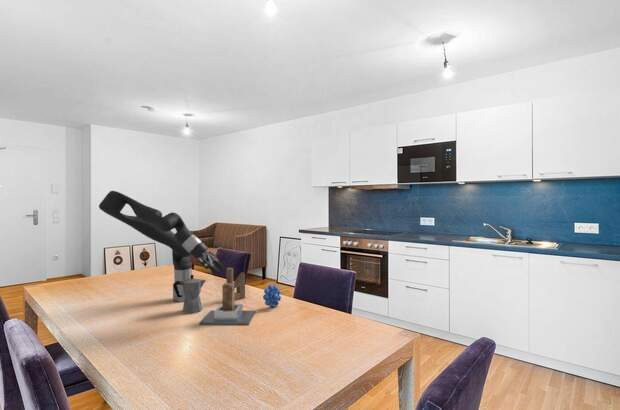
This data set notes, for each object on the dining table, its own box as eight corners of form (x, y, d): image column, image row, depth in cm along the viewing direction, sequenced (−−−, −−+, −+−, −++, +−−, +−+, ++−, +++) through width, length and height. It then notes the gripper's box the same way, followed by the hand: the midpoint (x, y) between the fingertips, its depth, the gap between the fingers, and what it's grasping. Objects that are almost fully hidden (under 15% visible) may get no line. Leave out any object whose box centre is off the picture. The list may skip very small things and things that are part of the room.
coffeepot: (205, 306, 177) (205, 271, 176) (206, 312, 168) (206, 275, 167) (173, 309, 171) (173, 274, 171) (173, 316, 163) (172, 278, 162)
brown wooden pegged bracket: (245, 298, 191) (245, 266, 190) (229, 302, 183) (228, 269, 183) (241, 296, 193) (241, 265, 193) (225, 301, 185) (224, 268, 185)
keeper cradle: (199, 324, 151) (199, 313, 151) (210, 312, 167) (210, 302, 167) (248, 324, 151) (248, 313, 151) (255, 312, 167) (255, 302, 167)
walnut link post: (222, 317, 157) (222, 285, 157) (225, 314, 161) (224, 283, 161) (232, 317, 157) (232, 285, 156) (234, 314, 161) (234, 283, 161)
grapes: (269, 312, 167) (269, 288, 167) (260, 309, 172) (260, 285, 171) (286, 306, 176) (286, 283, 175) (277, 303, 180) (277, 281, 180)
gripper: (194, 249, 166) (218, 272, 166) (183, 255, 152) (210, 280, 152) (205, 238, 166) (229, 262, 166) (195, 243, 151) (221, 268, 152)
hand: (220, 270), depth 159 cm, fingers open, 8 cm apart
